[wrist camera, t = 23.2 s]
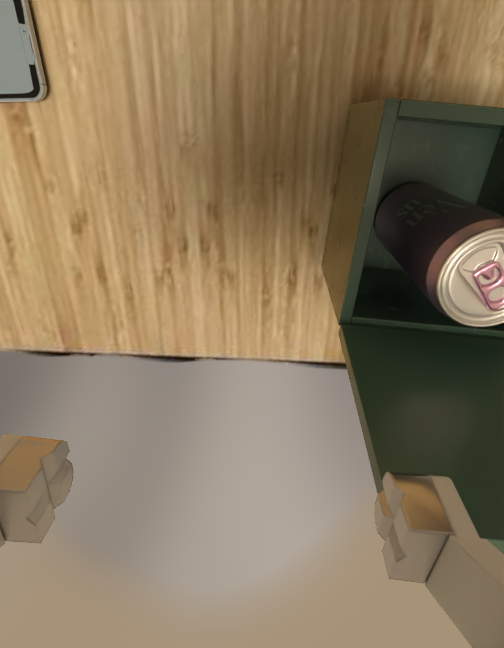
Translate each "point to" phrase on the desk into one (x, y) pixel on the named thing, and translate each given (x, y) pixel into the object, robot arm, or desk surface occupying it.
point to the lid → (433, 412)
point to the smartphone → (19, 55)
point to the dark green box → (386, 176)
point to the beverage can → (447, 251)
